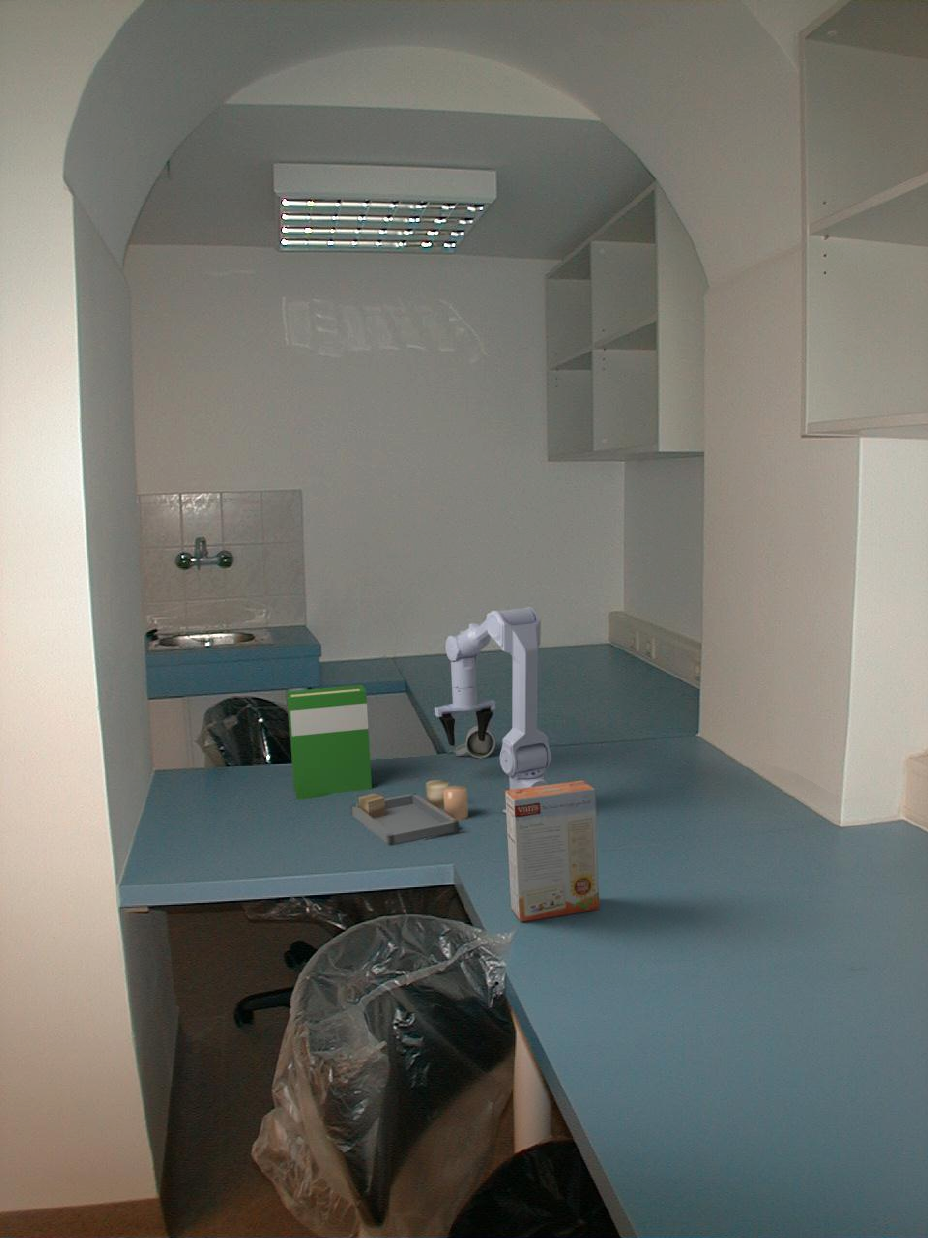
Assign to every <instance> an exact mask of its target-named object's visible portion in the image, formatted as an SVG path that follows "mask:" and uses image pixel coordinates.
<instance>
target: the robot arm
mask: <svg viewBox="0 0 928 1238" xmlns="http://www.w3.org/2000/svg"><path fill="white" fill-rule="evenodd" d="M541 626H542V623H541V618H540V616H538V613H537V611H536V610H535V609H534V608H533V607H532V606H527V607H523V608H514V609H506V610H505V609H504V610H492V611H491V612H490V613H487V615H486V619H485V620H484V621H483V622H482V623H477V622H471V623H469V624H468V628H466V629H465V630H464V629H463V630H461V631H460V633H459V634H458V635H449V636H448V637H447V638H446V640H445V643H444V644H445V654H446V655H447V658H448V660H449V661H450V671H451V673H450V674H451V692H452V693H451V694H452V703H450V704H446V705H445V704H444V705H442V706H435V707H434V715H435V716H436V717H437V718H438V720H439V721H440V723H441V725H442V727H443V729H444V732H445V734H446V738H447V742H448V745H449V746H453V747H454V746H455V745H456V739H455V726H456V725H455V724H456V719H455V718H454V717H453V715H457V714H465V713H472V712H473V713H474V712H475V715H476V721H477V722H476V723H477V726H478V738H479V740H480V741H485V736H486V731H487V728H489V724H490V722H491V720H492V718H493V716H494V711H493V710H496V701H495V700H493V699H489V700H487V699H486V700H478V696H477V694H478V690H477V669H476V667H477V665H478V664H479V663H478V658H479V655H480V651H482V650H483V649H485V648H486V647H488V645H489V644H490V643H491V639H492V640H493V641H494V642H495V643H496V644H497V646H498V647H499V648H500V649H501V650H502V651H503V652H504V653H507V654H510V655H511V657H512V658H511V659H512V693H511V694H512V699H511V701H512V705H511V706H512V709H511V710H512V712H511V714H512V716H511V717H512V722H511V725H512V727H511V729H510V730H509V732H508V733H507V734H506V735H504V737H503V738H502V744H501V750H500V753H499V763H500V767H501V769H502V770H503V772H504V773H505V774H506V775H507V776H509V777H508V779H509V790H513V789H521V788H529V787H537V786H545V785H550V784H549V783H548V782H547V781H546V780H545V777H544V774H547V769H548V768H550V764H551V761H552V753H551V748H550V745H549V743H550V742H549V741H550V739H549V737H548V736H547V735H546V734H545V733H544V732H543V731H541V730H540V729H538V675H539V674H538V669H539V667H538V666H539V663H538V661H539V657H538V654H539V651H538V650H539V648H540V647H541V636H542V635H541V634H542V632H541V630H542V629H541V628H542V627H541ZM502 813H504V814H506V808H504V809H502Z"/></svg>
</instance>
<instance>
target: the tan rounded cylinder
mask: <svg viewBox="0 0 928 1238" xmlns="http://www.w3.org/2000/svg"><path fill="white" fill-rule="evenodd" d="M443 795H444V808H443V812H445V813H446V814H448V815H450V816H451V817H453V818H454V819H456V820H457V821H462V820H465V819H467V818H469V810H468V809H469V808H468V788H467V787H466V786H463V785H449V787H446V788H444V789H443Z"/></svg>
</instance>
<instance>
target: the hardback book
mask: <svg viewBox="0 0 928 1238" xmlns="http://www.w3.org/2000/svg"><path fill="white" fill-rule="evenodd" d="M286 698H287V699H286V700H287V714H288V715H287V716H288V727H289V743H290V753H291V755H290V756H291V770H292V785H293V792H295V800H296V801H298V800H299V801H300V800H307V799H316V798H320V797H325V796H328V795H332V794H339V793H340V794H341V793H350V792H358V791H359V792H360V791H365V790H366V791H367V790H372V789H373V785H372V784H373V783H372V782H373V781H372V766H371V748H370V734H369V733H370V732H369V731H370V730H369V718H368V717H369V715H368V698H367V689H366V688H364V686H363V684H356V685H346V686H343V685H342V686H334V687H324V688H322V687H321V688H312V689H311V688H310V689H302V690H289V691H286Z"/></svg>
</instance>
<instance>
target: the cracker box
mask: <svg viewBox="0 0 928 1238" xmlns="http://www.w3.org/2000/svg"><path fill="white" fill-rule="evenodd" d="M504 793H505V796H504V797H505V809H506V813H505V816H506V831H507V832H506V833H507V836H506V837H507V849H508V850H507V852H508V867H509V868H508V869H509V870H508V871H509V886H510V887H509V888H510V892H509V893H510V907H511V910H512V912H513V913H514V914H515V916H516V917H517V918H518V920H519V921H520V922H529V921H533V920H540V919H547V918H551V917H559V916H566V915H571V914H572V915H573V914H577V913H584V912H591V911H596V910H600V884H599V883H600V882H599V881H600V878H599V855H598V854H599V853H598V852H599V851H598V831H597V830H598V829H597V807H596V805H597V803H596V789H595V787H592V786H591V785H590V784H588V783H587V782H586V781H584V780H577V781H569V782H560V783H554V784H553V783H552V784H549V785H545V786H537V787H529V788H521V789H513V790H510V789H508V790H505V791H504Z"/></svg>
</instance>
